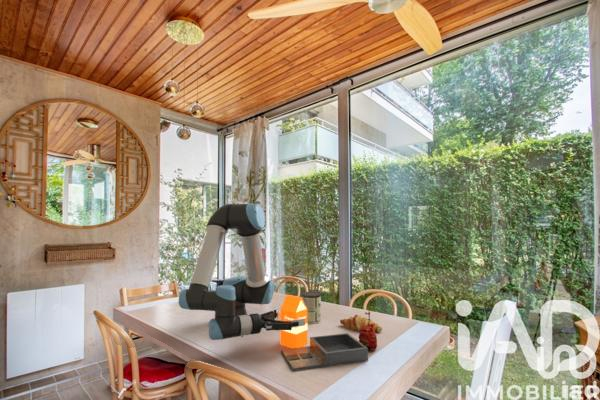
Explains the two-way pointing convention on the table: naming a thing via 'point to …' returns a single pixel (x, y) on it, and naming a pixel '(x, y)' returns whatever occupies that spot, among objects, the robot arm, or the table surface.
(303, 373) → the table surface
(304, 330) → the orange juice
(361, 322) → the croissant
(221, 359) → the table surface
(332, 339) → the tray
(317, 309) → the coffee can
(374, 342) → the red clay folk toy
